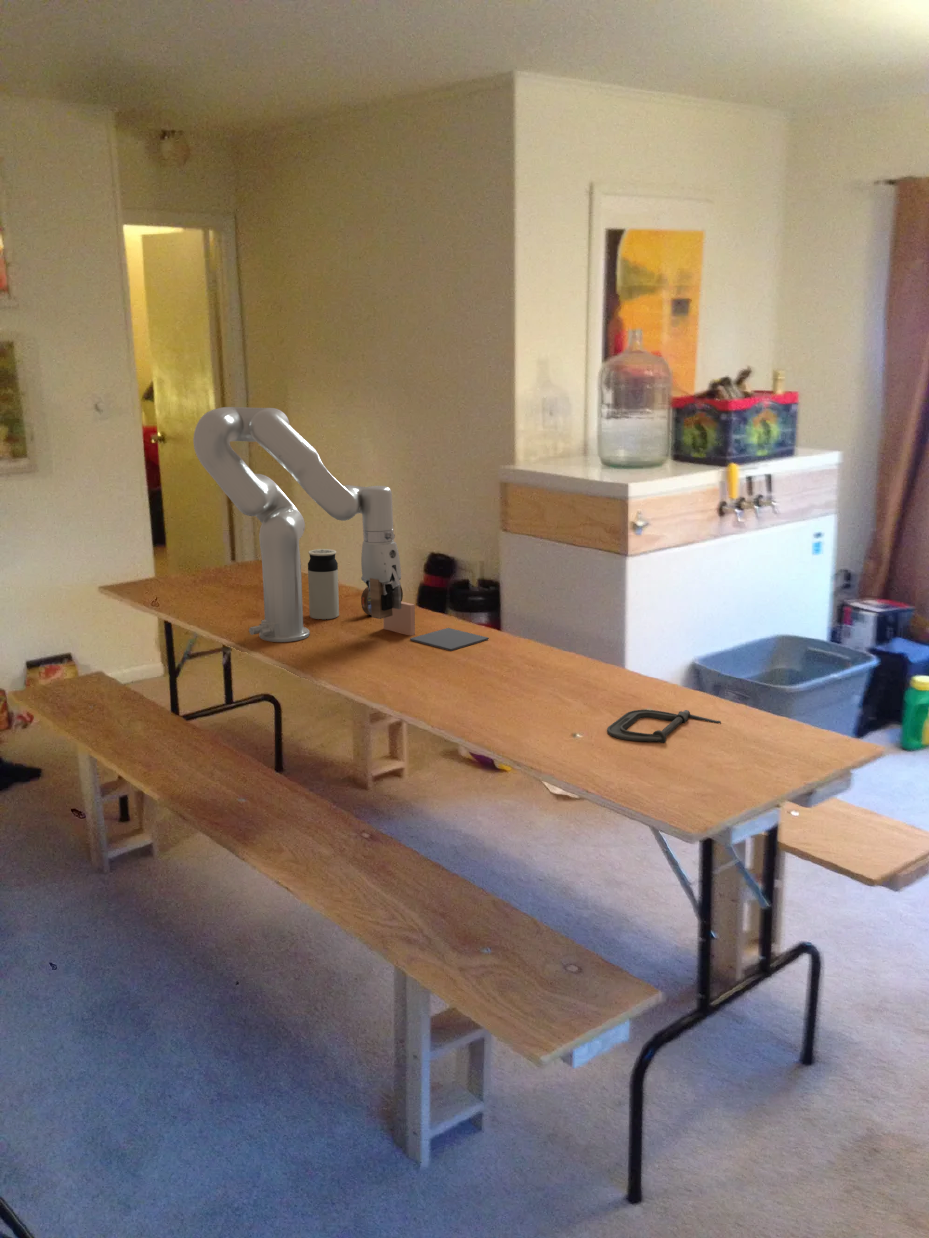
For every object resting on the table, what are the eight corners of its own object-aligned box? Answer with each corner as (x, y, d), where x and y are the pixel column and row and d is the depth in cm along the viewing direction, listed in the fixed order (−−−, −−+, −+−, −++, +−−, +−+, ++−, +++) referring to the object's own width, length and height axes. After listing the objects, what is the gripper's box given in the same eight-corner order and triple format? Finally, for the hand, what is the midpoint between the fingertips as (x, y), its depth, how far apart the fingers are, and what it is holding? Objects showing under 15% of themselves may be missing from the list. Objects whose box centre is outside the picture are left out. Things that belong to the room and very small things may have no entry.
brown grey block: (386, 620, 265) (385, 581, 263) (364, 615, 271) (362, 577, 268) (401, 616, 269) (400, 577, 266) (379, 611, 274) (378, 573, 272)
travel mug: (336, 620, 287) (335, 554, 282) (307, 620, 287) (305, 554, 282) (340, 613, 294) (339, 548, 290) (312, 612, 295) (309, 548, 290)
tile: (410, 635, 272) (410, 605, 270) (383, 628, 279) (383, 599, 277) (415, 634, 273) (415, 604, 271) (388, 627, 280) (387, 598, 278)
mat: (450, 650, 259) (450, 649, 259) (410, 640, 268) (410, 638, 268) (488, 639, 269) (488, 637, 269) (448, 629, 278) (448, 627, 278)
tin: (367, 618, 289) (367, 588, 287) (359, 617, 291) (358, 586, 289) (404, 608, 300) (403, 578, 298) (395, 606, 302) (395, 577, 300)
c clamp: (642, 708, 221) (642, 695, 220) (721, 725, 211) (722, 712, 210) (594, 736, 205) (594, 723, 204) (677, 756, 195) (678, 742, 194)
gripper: (412, 537, 262) (415, 610, 266) (367, 531, 272) (370, 601, 277) (390, 542, 256) (393, 616, 261) (345, 535, 267) (349, 606, 272)
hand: (382, 607), depth 269 cm, fingers closed on brown grey block, 3 cm apart
